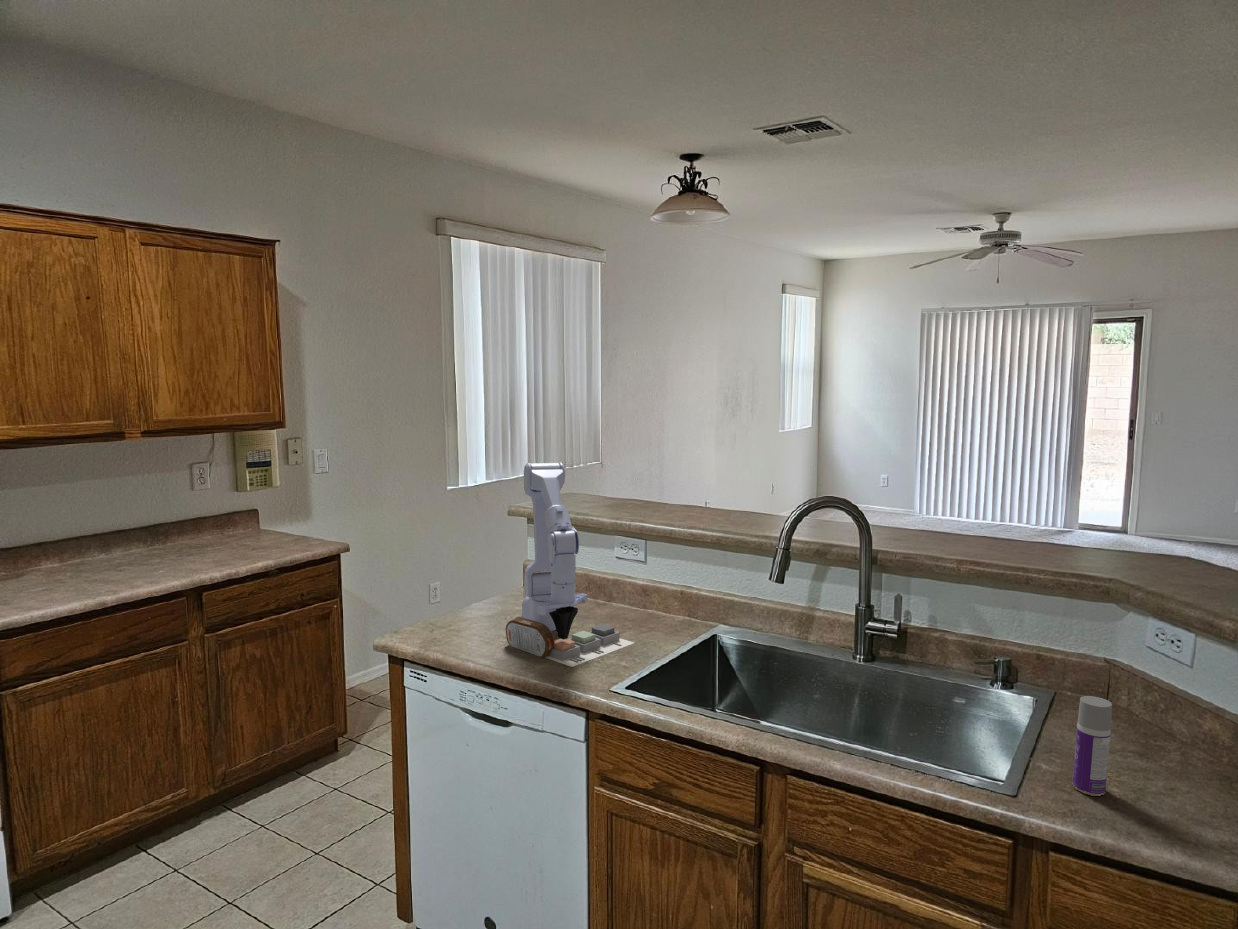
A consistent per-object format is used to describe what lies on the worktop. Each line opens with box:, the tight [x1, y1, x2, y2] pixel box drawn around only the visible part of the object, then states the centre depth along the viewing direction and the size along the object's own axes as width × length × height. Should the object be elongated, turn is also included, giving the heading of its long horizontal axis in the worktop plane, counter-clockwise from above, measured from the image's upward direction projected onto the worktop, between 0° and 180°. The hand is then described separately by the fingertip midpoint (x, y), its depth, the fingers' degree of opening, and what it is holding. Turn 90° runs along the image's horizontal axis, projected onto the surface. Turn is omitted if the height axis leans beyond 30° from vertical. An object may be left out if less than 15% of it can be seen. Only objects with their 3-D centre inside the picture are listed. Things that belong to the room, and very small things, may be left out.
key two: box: [571, 630, 595, 644], centre depth 189 cm, size 4×4×2 cm
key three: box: [554, 638, 575, 651], centre depth 184 cm, size 4×4×2 cm
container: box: [1072, 695, 1113, 794], centre depth 127 cm, size 5×5×15 cm
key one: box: [591, 623, 616, 637], centre depth 194 cm, size 4×4×2 cm
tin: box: [505, 616, 555, 659], centre depth 186 cm, size 15×3×8 cm, turn 48°
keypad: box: [544, 630, 635, 668], centre depth 188 cm, size 12×22×3 cm, turn 139°
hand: (562, 638), depth 183 cm, fingers closed
